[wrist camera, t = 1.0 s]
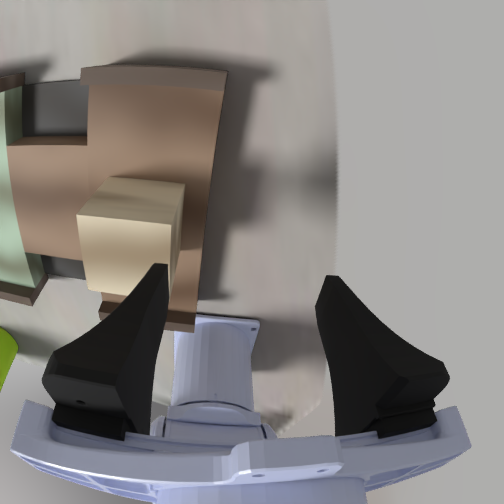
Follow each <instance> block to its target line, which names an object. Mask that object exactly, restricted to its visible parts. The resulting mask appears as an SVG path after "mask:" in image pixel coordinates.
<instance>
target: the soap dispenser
mask: <svg viewBox="0 0 504 504" xmlns="http://www.w3.org/2000/svg"><path fill="white" fill-rule="evenodd" d="M17 351H18V345H17V343H16V341H15V340H14V339H13V337H12V336H11V335H10V334H9V333H8V332H6V331H5V330H4V329H2V328H1V327H0V391H1V389H2V386H3V384H4V381H5V379H6V376H7V374H8V371H9V369H10V367H11V365H12V362H13V360H14V358H15V356H16V353H17Z"/></svg>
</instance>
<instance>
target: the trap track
mask: <svg viewBox="0 0 504 504" xmlns="http://www.w3.org/2000/svg"><path fill="white" fill-rule="evenodd" d="M227 75H228V71H222V70H214V69H204V68H194V67H181V66H165V65H102V66H93V67H86V68H81V77H80V80H73V81H60V82H49V83H39V84H31V85H24V80H25V73H20V74H14V75H9V76H3V77H0V298H1V299H5V300H9V301H12V302H16V303H21V304H25V305H29V306H33V305H34V303H35V301H36V299H37V297H38V296H39V294H40V292H41V291H42V289H43V287H44V286H45V284H46V282H47V281H48V276H47V274H53V275H59V276H65V277H71V278H77V279H83V280H86V276H85V270H84V265H83V259H82V253H81V246H80V239H79V232H78V225H77V216H76V214H77V213H78V212H79V211H80V210H81V208H82V207H83V206H84V205H85V204H86V202H87V201H88V200H89V199H90V198H91V196H92V195H93V194H94V193H95V192H96V191H97V189H98V188H99V187H100V186H101V185H102V184H103V183H104V181H105V180H106V179H107V178H108V177H119V178H132V179H143V180H154V181H164V182H174V183H183V184H185V192H184V204H183V216H182V230H181V246H180V254H179V258H178V263H177V267H176V272H175V276H174V281H173V286H172V291H171V296H170V301H169V305H168V312H167V319H166V323H165V326H164V330H170V331H178V332H187V333H194V330H195V320H196V310H197V301H198V290H199V279H200V269H201V259H202V250H203V241H204V232H205V223H206V215H207V207H208V199H209V191H210V184H211V176H212V169H213V162H214V155H215V148H216V141H217V135H218V128H219V122H220V116H221V109H222V103H223V97H224V92H225V86H226V80H227ZM101 294H102V300H103V301H102V304H101V306H100V309H99V311H98V313H99V317H100V320H103V319H105V318H106V317H107V316H108V315H109V314H110V313H111V312H112V311H114V310H115V309H116V308H117V307H118V306H119V305H120V304H121V302H122V301H123V300H124V299H125V298H126V297H127V296H125V295H118V294H112V293H105V292H101Z"/></svg>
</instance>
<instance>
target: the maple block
mask: <svg viewBox="0 0 504 504" xmlns="http://www.w3.org/2000/svg"><path fill="white" fill-rule="evenodd" d="M184 192H185V184H183V183H174V182H164V181H154V180H143V179H132V178H119V177H108V178H107V179H106V180H105V181H104V183H103V184H102V185H101V186H100V187H99V188H98V189H97V191H96V192H95V193H94V194H93V195H92V196H91V198H90V199H89V200H88V201H87V202H86V204H85V205H84V206H83V207H82V208H81V210H80V211H79V212H78V213H77V214H76V216H77V225H78V232H79V239H80V246H81V253H82V259H83V265H84V270H85V276H86V281H87V286H88V290H93V291H99V292H105V293H112V294H118V295H125V296H128V295H129V294H130V293H131V291H132V290H133V289H134V288H135V287H136V285H137V284H138V283H139V282H140V281H141V279H142V278H143V277H144V275H145V274H146V273H147V271H148V270H149V269H150V267H151V266H152V265H153V264H154V263H163V264H168V278H169V297H170V296H171V291H172V286H173V281H174V276H175V272H176V267H177V263H178V258H179V254H180V246H181V230H182V216H183V204H184ZM169 301H170V298H169Z"/></svg>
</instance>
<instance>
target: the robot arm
mask: <svg viewBox="0 0 504 504" xmlns="http://www.w3.org/2000/svg"><path fill="white" fill-rule="evenodd" d="M169 298H170V297H169V278H168V264H163V263H154V264H153V265H152V266H151V267H150V269H149V270H148V271H147V273H146V274H145V275H144V277H143V278H142V279H141V281H140V282H139V283H138V284H137V285H136V287H135V288H134V289H133V290H132V291H131V293H130V294H129V295H128V296H127V297H126V298H125V299H124V300H123V301H122V302H121V304H120V305H119V306H118V307H117V308H116V309H115V310H114V311H112V312H111V313H110V314H109V315H108V316H107V317H106V318H105V319H103V320H102V321H101V322H100V323H99V324H97V325H96V326H95V327H94V328H92V329H91V330H90V331H88V332H87V333H85V334H84V335H82V336H81V337H79V338H77V339H76V340H74V341H72V342H71V343H69V344H67V345H65V346H63V347H61V348H59V349H57V350H55V351H54V352H53V354H52V355H51V357H50V359H49V361H48V364H47V366H46V369H45V372H44V374H43V377H42V384H43V386H44V388H45V389H46V391H47V392H48V393H49V395H50V396H51V397H52V399H53V400H54V401H55V403H56V405H55V408H54V410H53V409H51V408H50V407H47V406H45V405H42V404H39V403H35V402H32V401H29V400H25V401H24V404H23V407H22V410H21V413H20V416H19V419H18V423H17V426H16V430H15V433H14V437H13V440H12V444H11V448H10V450H11V451H12V452H13V453H14V454H16V455H17V456H18V457H20V458H21V459H22V460H24V461H25V462H27V463H28V464H30V465H31V466H33V467H34V468H36V469H37V470H40V471H42V472H45V473H48V474H51V475H54V476H56V477H59V478H62V479H65V480H68V481H71V482H74V483H77V484H80V485H84V486H87V487H90V488H93V489H97V490H100V491H104V492H108V493H112V494H115V495H120V496H124V497H128V498H133V499H137V500H142V501H147V502H152V503H153V504H367V499H366V493H365V492H368V491H372V490H375V489H378V488H382V487H385V486H388V485H391V484H394V483H397V482H400V481H403V480H406V479H409V478H412V477H415V476H417V475H420V474H423V473H425V472H428V471H431V470H434V469H436V468H439V467H441V466H443V465H445V464H446V463H448V462H450V461H451V460H453V459H455V458H456V457H458V456H459V455H461V454H462V453H464V452H465V451H467V450H468V449H470V448H471V443H470V440H469V437H468V435H467V432H466V429H465V427H464V424H463V421H462V419H461V416H460V414H459V411H458V409H457V406H452V407H449V408H446V409H442V410H439V411H437V412H435V413H434V410H433V407H434V406H435V402H434V398H435V397H436V396H437V395H438V394H439V393H440V392H441V391H442V390H443V389H444V388H445V387H446V386H447V384H448V382H449V380H450V376H449V374H448V372H447V370H446V368H445V366H444V363H443V362H442V361H440V360H437V359H436V358H434V357H432V356H429V355H427V354H426V353H424V352H422V351H421V350H419V349H417V348H415V347H414V346H412V345H411V344H409V343H408V342H406V341H405V340H403V339H402V338H401V337H399V336H398V335H397V334H395V333H394V332H393V331H392V330H391V329H389V328H388V327H387V326H386V325H385V324H384V323H382V322H381V321H380V320H379V319H378V318H377V317H376V316H375V315H374V314H373V313H372V312H371V311H370V310H369V309H368V308H367V307H366V306H365V305H364V304H363V303H362V302H361V300H360V299H359V298H357V296H356V295H355V294H354V293H353V291H352V290H351V289H350V288H349V287H348V286H347V285H346V284H345V283H344V281H343V280H342V279H341V278H340V277H339V276H332V275H326V277H325V280H324V283H323V286H322V289H321V292H320V294H319V297H318V300H317V303H316V305H315V310H316V318H317V325H318V329H319V332H320V336H321V340H322V343H323V347H324V350H325V354H326V358H327V361H328V365H329V370H330V376H331V383H332V391H333V401H334V415H335V437H334V436H331V435H330V436H329V435H326V436H325V435H321V436H310V437H297V438H277V435H276V433H275V432H274V431H273V430H272V429H271V427H270V426H269V425H268V424H261V420H260V413H258V412H254V400H253V386H252V371H251V354H252V350H253V347H254V344H255V340H256V337H257V334H258V331H259V327H260V322H259V321H258V320H251V319H239V318H228V317H218V316H208V315H198V314H196V320H195V330H194V333H187V332H178V331H174V362H175V371H174V379H173V388H172V397H171V406H168V412H167V420H166V417H165V416H158V418H157V419H155V420H154V421H153V422H152V424H151V427H150V417H151V402H152V390H153V380H154V372H155V364H156V359H157V354H158V350H159V346H160V342H161V338H162V334H163V330H164V326H165V323H166V319H167V312H168V305H169Z"/></svg>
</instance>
